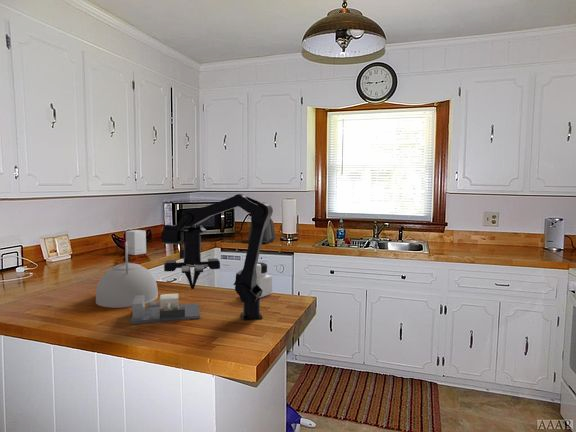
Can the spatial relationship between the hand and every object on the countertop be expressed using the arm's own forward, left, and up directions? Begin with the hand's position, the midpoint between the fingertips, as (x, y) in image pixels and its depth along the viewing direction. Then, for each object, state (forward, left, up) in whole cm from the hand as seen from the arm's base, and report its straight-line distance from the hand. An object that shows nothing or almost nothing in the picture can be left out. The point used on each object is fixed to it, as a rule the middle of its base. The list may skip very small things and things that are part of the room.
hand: (192, 288), depth 136 cm
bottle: (+156, -58, -9) cm, 167 cm away
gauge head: (-2, +10, -7) cm, 12 cm away
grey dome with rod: (+24, +24, -9) cm, 35 cm away
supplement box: (+126, +31, -9) cm, 130 cm away
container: (+16, -27, -9) cm, 33 cm away
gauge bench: (0, +9, -8) cm, 12 cm away
